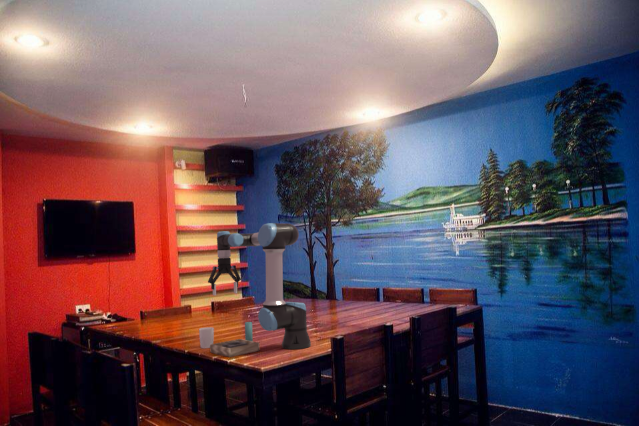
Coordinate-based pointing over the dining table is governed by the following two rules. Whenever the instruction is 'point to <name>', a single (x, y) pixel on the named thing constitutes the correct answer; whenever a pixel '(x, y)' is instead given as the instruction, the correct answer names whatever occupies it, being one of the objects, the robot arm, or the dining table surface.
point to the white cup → (206, 336)
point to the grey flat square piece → (234, 347)
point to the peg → (248, 331)
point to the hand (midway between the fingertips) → (225, 294)
